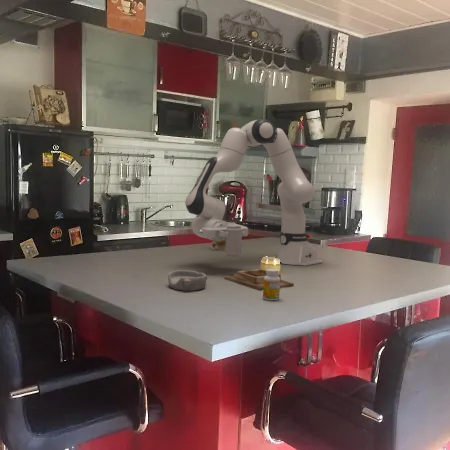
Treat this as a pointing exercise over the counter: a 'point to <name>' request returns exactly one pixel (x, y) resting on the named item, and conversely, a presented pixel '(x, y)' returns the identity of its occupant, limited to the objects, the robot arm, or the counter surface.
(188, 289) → the dish
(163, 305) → the counter surface
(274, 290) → the supplement bottle
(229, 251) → the beverage can
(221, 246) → the coffee box
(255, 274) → the tray
